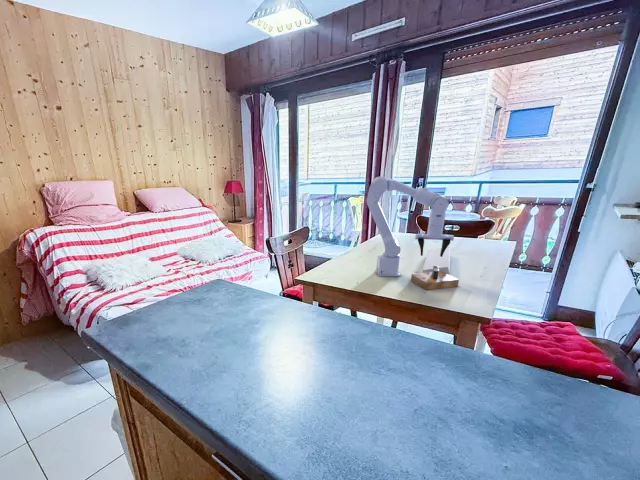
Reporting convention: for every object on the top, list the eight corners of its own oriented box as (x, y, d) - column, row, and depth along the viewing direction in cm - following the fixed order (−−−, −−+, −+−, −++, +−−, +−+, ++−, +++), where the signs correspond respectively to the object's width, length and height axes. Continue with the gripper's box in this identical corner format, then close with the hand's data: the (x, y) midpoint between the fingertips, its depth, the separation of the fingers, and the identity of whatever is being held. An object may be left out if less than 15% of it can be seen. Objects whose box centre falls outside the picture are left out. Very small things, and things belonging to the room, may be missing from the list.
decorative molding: (424, 280, 148) (449, 277, 143) (422, 270, 147) (448, 266, 142) (429, 258, 175) (450, 255, 170) (427, 250, 174) (449, 246, 169)
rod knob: (437, 279, 134) (438, 270, 132) (432, 279, 135) (434, 270, 133) (436, 274, 139) (437, 265, 138) (432, 273, 140) (433, 265, 139)
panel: (425, 289, 132) (427, 282, 131) (410, 280, 143) (411, 273, 141) (457, 286, 134) (459, 279, 133) (440, 277, 144) (441, 270, 143)
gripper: (454, 223, 139) (449, 254, 144) (416, 222, 144) (412, 252, 149) (456, 226, 133) (450, 258, 138) (417, 225, 138) (413, 256, 143)
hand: (431, 255), depth 143 cm, fingers open, 7 cm apart
